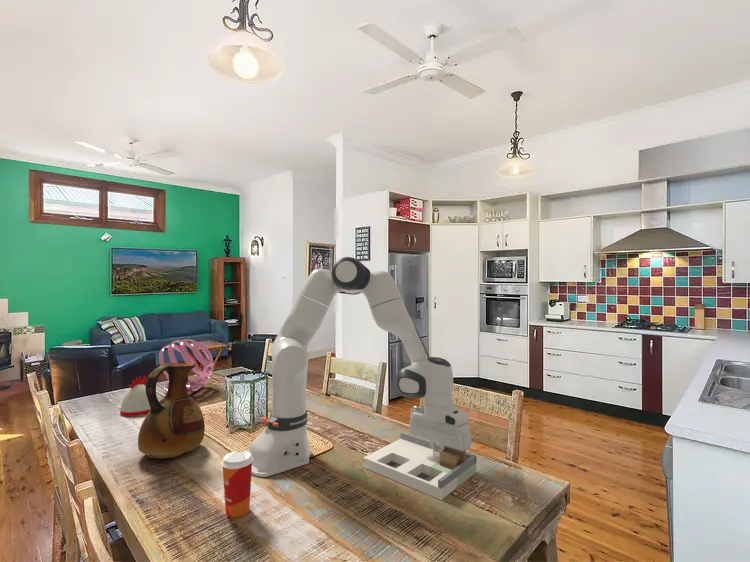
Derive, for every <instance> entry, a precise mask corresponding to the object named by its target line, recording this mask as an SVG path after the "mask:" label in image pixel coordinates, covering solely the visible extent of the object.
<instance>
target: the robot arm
mask: <svg viewBox="0 0 750 562" xmlns="http://www.w3.org/2000/svg"><path fill="white" fill-rule="evenodd" d="M399 289H400V288H399V287H398V285H397V283H396V281H395V279H394V278H393V276H392V274H391V273H389V272H388V271H385V270H378V271H373V272H371V270H370V269H369V268H368V267H367V266H365V265H364V264H363V263H362V262H361V261H360V260H359V259H357V258H355V257H351V256H345V257H341V258H339V259H338V260H336V262H334V264H333V266H332V268H331V270H328V269H325V268H316V269H313V270H312V271H311V272H310V274H309V275H308V277H306V279H305V281H304V283H303V284H302V287H301V288H300V290H299V293H298V294H297V296H296V298H295V300H294V303H293V305H292V307H291V309H290V311H289V314H288V315H287V317H286V319H285V321H284V322H283V325H282V326H281V328H280V330H279V332H278V334H277V335H276V337H275V340H274V341H273V342H272V343H273V344H272V345H271V348H270V355H271V363H272V364H271V365H272V367H271V369H272V370H271V413H270V415H269V417H266V416H261V418H260V422H261V423H262V424H264V425H266V427H265V428H264V429H263V431H262V432H260V434H259V435H258V436H257V437H256V438H255V439H253V441H252V442H251V443H250V445H249V449H248V452H250V453H251V455H252V457H253V462H252V472H251V475H252V476H255V477H259V478H265V477H266V478H267V477H270V476H273V475H277V474H280V473H283V472H286V471H289V470H292V469H295V468H298V467H301V466H305V465H307V464H309V463H310V457H311V456H312V452H311V451H312V450H311V447H310V444H309V440H308V439H309V437H308V430H307V423H308V411H307V381H308V380H307V379H308V366H309V365H308V363H309V357H308V356H309V355H308V354H309V353H308V350H307V349H308V346H309V345H310V343H311V342H312V340H313V338H314V337H315V335H316V333H317V332H318V331H319V330H320V327H321V326H322V323H323V321H324V319H325V317H326V314H327V312H328V310H329V308H330V306H331V303H332V301H333V299H334V297H335V296H336V295H337V294H338V293H339V294H345V295H353V296H355V295H359V294H363V295H364V296H365V298H366V299H367V303H368V306H369V309H370V313H371V315H372V318H373V320H374V322H375V323H376V325H377V327H379V328H380V329H381V330H382V331H385V332H387V333H391V334H393V335H395V336H396V337H398V338H399V339H400V341H401V342H402V344H403V346H404V349H405V351H406V352H407V355H408V357H409V360H410V363H411V364H410V365H408V366H405V367H404V368H401V369H400V370H399V371H398V372H397V373H396V374H395V378H394V384H395V385H394V386H395V388H396V390H397V392H398V393H399V395H401V396H402V397H403V398H406V399H421V398H422V399H423V404H424V405H423V407H422V406H419V405H414V406H412V407H411V408H410V419H409V426H408V433H409V434H410V435H413V436H416V437H419V438H422V439H425V440H428V441H430V445H431V447H432V450H433V456H436V457H439V458H440V452H441V451H442V450H444V449H446V448H447V447H451V448H454V449H457V450H460V451H467V450H468V449H470V447H471V446H472V435H471V434H472V433H471V427H470V425H469V423H468V421H469V418H470V417H469V414H468V413H466V412H465V411H463V410H462V409H460V408H459V407H457V406H456V405H455V404H454V400H453V399H454V398H453V392H454V373H453V368H452V364H451V363H450V362H449V361H448V360H447V359H445V358H443V357H442V358H441V357H437V356H431V357H430V355H429V353H428V351H427V348H426V346H425V344H424V342H423V340H422V338H421V335H420V334H419V331H418V329H417V327H416V325H415V322H414V321H413V319H412V318H411V316H410V313H409V312H408V310H407V307H406V305H405V302H404V299H403V297H402V294H401V291H400V290H399ZM436 443H438V444H440V447H441V450H439V449H438V447H437V445H436ZM310 455H311V456H310Z"/></svg>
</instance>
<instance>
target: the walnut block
mask: <svg viewBox="0 0 750 562" xmlns="http://www.w3.org/2000/svg"><path fill="white" fill-rule="evenodd" d="M466 451H467V450H466ZM466 451H460V450H457V449H454V448H451V447H447V448H446V449H444V450H442V451H441V452H440V466H443V467H446V468H449V469H451V470H453V469H454V468H456V467H457V466H458V465H460V464H461V463H463V462H464V461H465V460H466V453H467V452H466Z"/></svg>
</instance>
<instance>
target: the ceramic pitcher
mask: <svg viewBox="0 0 750 562" xmlns="http://www.w3.org/2000/svg"><path fill="white" fill-rule="evenodd" d="M195 366H196V364H195V363H185V362H178V363H171V362H165V363H162V364H161V365H160V364H159V366H157V367H156V368H154V369H153V370H152V371H151V372H150V373H149V374H148V376H147V377H146V379H147V381H146V395H147V399H148V402H149V405H150V408H151V410H150V411H149V413H148V414H146V415H145V417H144V419H143V421H142V424H141V426H140V428H139V431H138V437H137V446H138V447H137V448H138V451H139V452H140V453H142V454H143V455H146V456H148V457H149V458H153V459H154V458H155V459H170V458H171V459H172V458H176V457H179V456H181V455H182V454H184V453H188V452H190V451H193V450H194V449H196V448H198V446H200V445H201V443H202V442H203V441H204V437H205V430H206V429H205V428H206V427H205V425H206V424H205V419H204V415H203V412H202V409H201V407H200V406H199V404H198V402H196V401H195V400H194V399H193V398H192V397H190V395H189V393H188V392H187V385H189V383H188V376H189V373H190V372H192V369H193V368H194V367H195ZM163 371H166V372H167V373H168V377H169V380H168V384H169V385H168V386H167V392H166V393H165V395H164V397H163V398H162V399H160V400H159V399H158V396H157V382H158V379H159V377H160V376H161V374H162V373H164V372H163Z"/></svg>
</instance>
